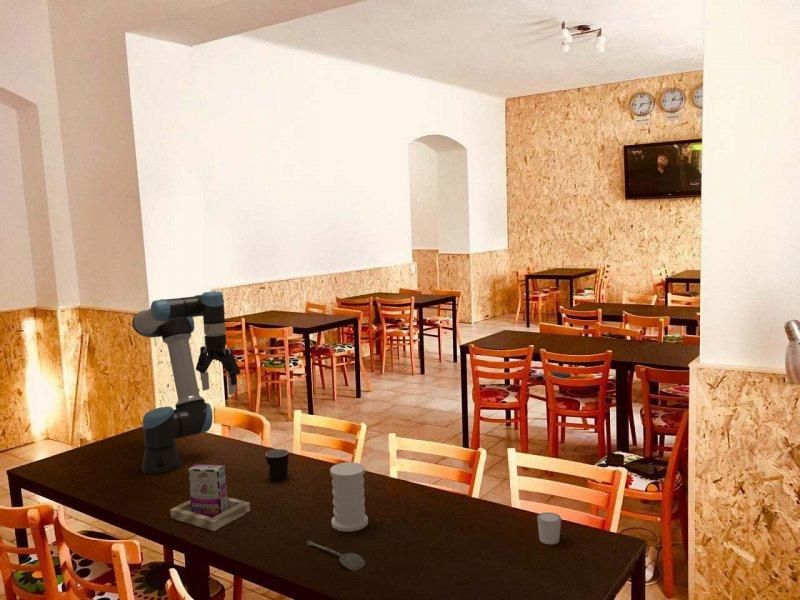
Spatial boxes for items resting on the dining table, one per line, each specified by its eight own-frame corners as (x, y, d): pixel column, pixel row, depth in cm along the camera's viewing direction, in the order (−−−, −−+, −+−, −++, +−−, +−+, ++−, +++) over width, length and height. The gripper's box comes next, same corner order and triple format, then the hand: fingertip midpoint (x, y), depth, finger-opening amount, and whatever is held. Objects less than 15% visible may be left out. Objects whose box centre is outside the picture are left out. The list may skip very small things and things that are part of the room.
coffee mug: (287, 483, 243) (286, 457, 242) (264, 483, 243) (263, 457, 242) (293, 471, 254) (292, 446, 253) (271, 471, 255) (269, 446, 253)
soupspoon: (352, 577, 179) (369, 568, 184) (353, 565, 179) (370, 556, 184) (300, 549, 194) (317, 542, 199) (300, 538, 193) (317, 531, 198)
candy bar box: (229, 512, 220) (225, 465, 218) (221, 519, 215) (218, 470, 213) (199, 510, 223) (195, 463, 221) (191, 516, 218) (187, 468, 216)
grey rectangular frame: (171, 518, 217) (170, 509, 217) (208, 499, 230) (207, 491, 230) (214, 531, 207) (213, 522, 206) (250, 511, 220) (249, 502, 220)
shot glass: (556, 547, 189) (556, 524, 188) (534, 542, 193) (533, 519, 192) (564, 537, 195) (564, 514, 194) (542, 532, 198) (542, 510, 198)
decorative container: (334, 534, 202) (332, 477, 200) (328, 518, 213) (326, 464, 211) (371, 528, 205) (369, 472, 203) (363, 512, 216) (361, 459, 214)
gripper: (183, 334, 242) (187, 390, 245) (232, 338, 229) (236, 397, 232) (199, 330, 248) (203, 385, 251) (247, 334, 235) (251, 392, 238)
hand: (219, 391), depth 241 cm, fingers open, 13 cm apart
